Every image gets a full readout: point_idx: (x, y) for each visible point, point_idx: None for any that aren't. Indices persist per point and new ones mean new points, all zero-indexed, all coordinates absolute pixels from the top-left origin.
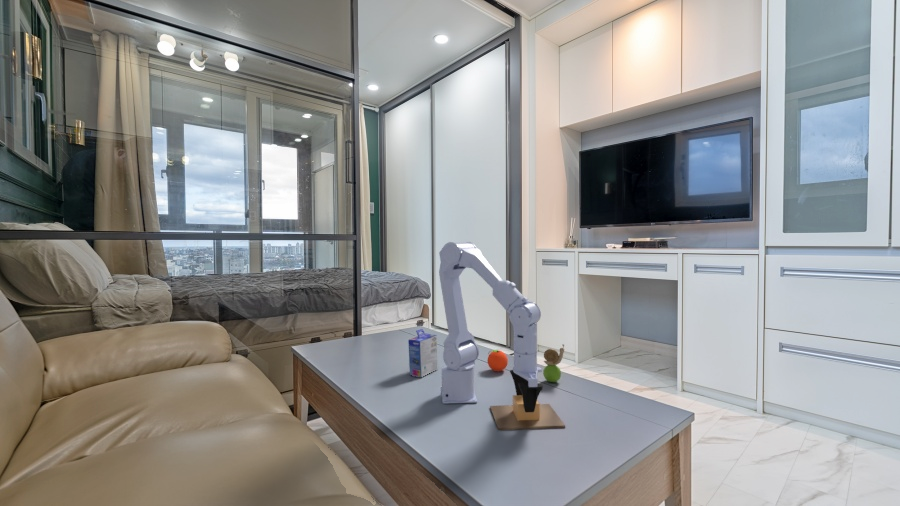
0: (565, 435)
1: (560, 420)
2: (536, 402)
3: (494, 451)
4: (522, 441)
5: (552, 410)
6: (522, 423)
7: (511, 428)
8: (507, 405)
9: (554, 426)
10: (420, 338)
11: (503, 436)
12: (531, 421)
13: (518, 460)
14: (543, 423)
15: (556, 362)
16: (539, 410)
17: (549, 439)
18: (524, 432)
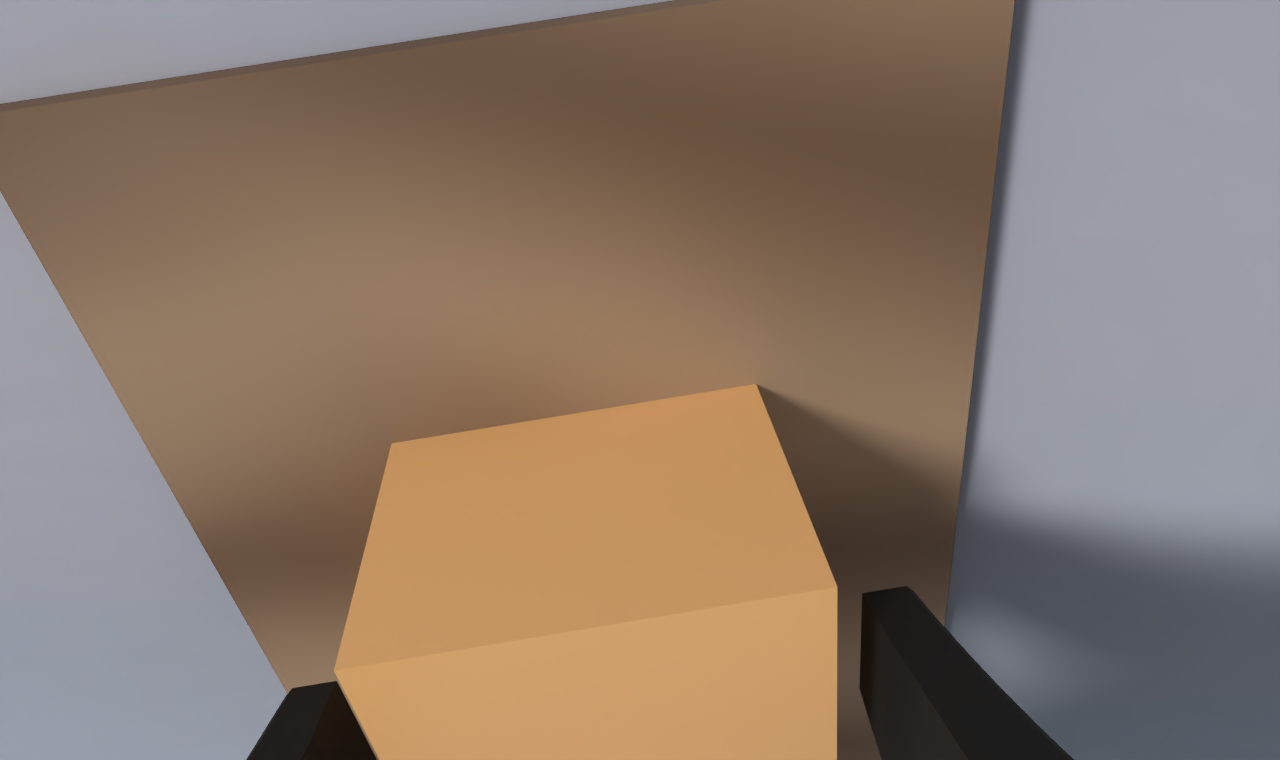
0: (1256, 19)
1: (795, 13)
2: (773, 630)
3: (1273, 745)
4: (1200, 569)
5: (329, 102)
6: (855, 585)
7: None
8: None
9: (989, 174)
10: None
11: (1050, 707)
12: (805, 488)
13: None
14: (887, 340)
15: None
16: (793, 483)
17: (1272, 291)
18: (1015, 548)
